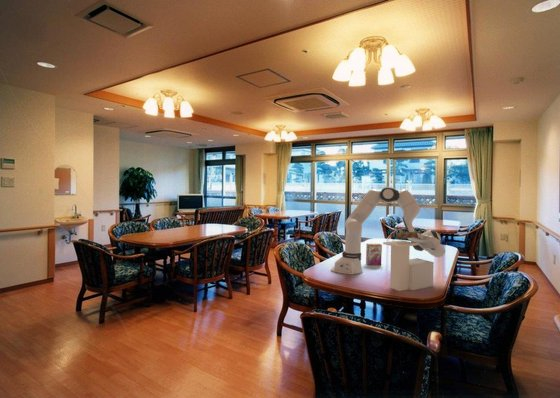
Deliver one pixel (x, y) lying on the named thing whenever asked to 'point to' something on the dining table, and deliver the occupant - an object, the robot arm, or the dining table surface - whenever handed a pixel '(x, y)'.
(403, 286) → the stepped stand
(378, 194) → the robot arm
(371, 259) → the candy bar box
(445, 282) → the dining table surface
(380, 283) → the dining table surface
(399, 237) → the walnut bar
